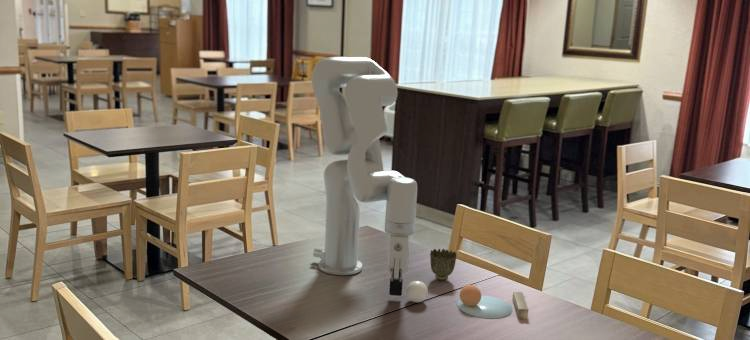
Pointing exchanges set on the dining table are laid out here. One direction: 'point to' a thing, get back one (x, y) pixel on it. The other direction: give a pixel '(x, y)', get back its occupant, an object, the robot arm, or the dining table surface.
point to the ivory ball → (417, 291)
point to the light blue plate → (487, 308)
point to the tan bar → (520, 305)
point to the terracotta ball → (470, 295)
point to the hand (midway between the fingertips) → (395, 294)
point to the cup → (442, 263)
